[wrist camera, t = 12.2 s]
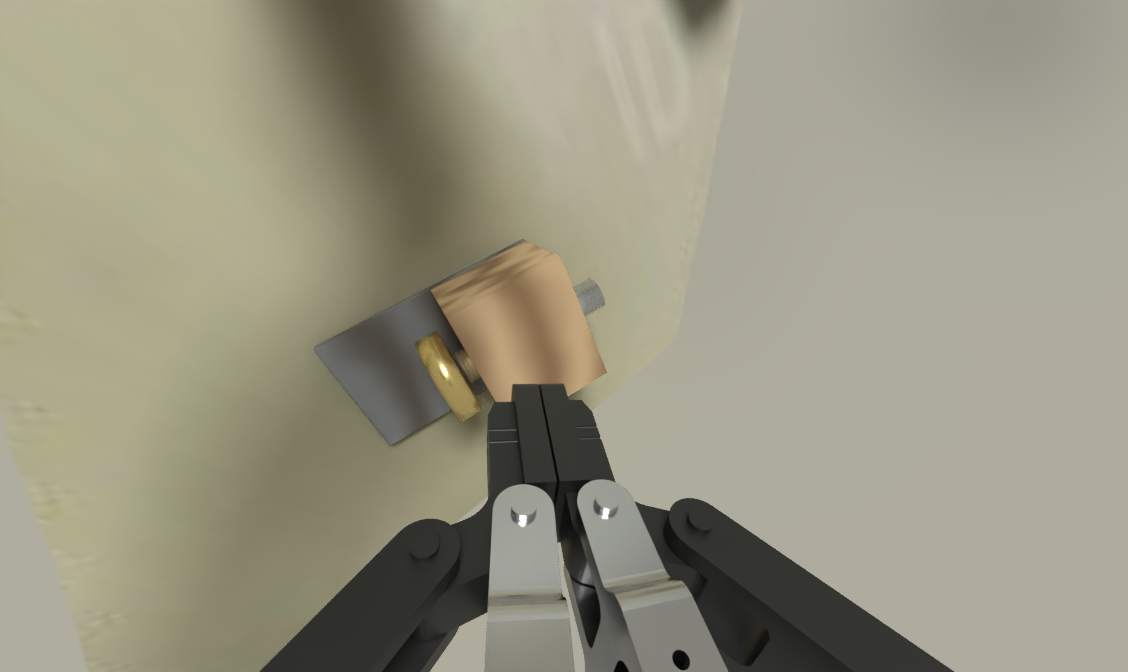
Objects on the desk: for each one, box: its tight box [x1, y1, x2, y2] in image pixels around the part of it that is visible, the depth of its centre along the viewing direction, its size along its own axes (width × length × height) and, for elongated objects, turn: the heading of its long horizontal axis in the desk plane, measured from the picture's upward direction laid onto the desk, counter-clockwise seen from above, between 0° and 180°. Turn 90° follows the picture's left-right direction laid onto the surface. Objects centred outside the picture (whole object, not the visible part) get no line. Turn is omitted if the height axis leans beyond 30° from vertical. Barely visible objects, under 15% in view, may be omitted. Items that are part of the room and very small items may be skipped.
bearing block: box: [314, 239, 607, 446], centre depth 39 cm, size 21×12×10 cm, turn 113°
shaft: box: [414, 278, 605, 422], centre depth 39 cm, size 16×8×8 cm, turn 113°
